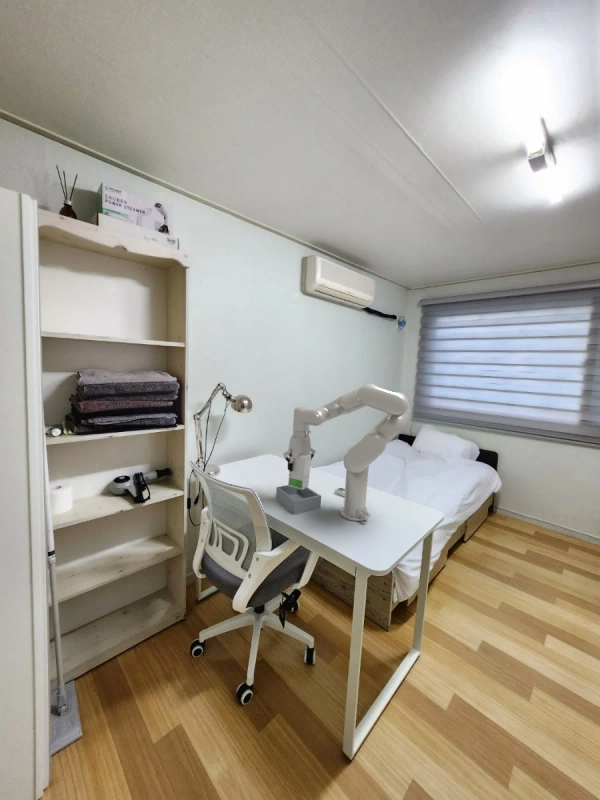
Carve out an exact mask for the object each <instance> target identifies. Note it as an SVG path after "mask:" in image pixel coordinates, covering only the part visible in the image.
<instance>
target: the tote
mask: <svg viewBox="0 0 600 800" xmlns="http://www.w3.org/2000/svg"><path fill="white" fill-rule="evenodd" d="M275 489H276V490H275V492H276V493H275V500H277V501H278V503H280V504H281V503H282V504H281V505H283V507H285V508H286V509H287V508H288V509H287V510H288V511H289V512H290V513H292V512H293V513H294V514H293V513H292V514H293V515H299V514H303V513H306V512H309V511H315V510H318V509H321V507H322V495H321V494H319V493H317V492H316V491H315V490H314V489H312V488H309V486H308V487H306V488H305V489H303V490H301V489H298V488H294V487H290V486H288V484H286V485H281V486H276V488H275ZM298 513H299V514H298Z"/></svg>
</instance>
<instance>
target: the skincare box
mask: <svg viewBox="0 0 600 800" xmlns="http://www.w3.org/2000/svg"><path fill="white" fill-rule="evenodd" d="M290 455H291V456H292V454H290ZM311 461H312V460H311V455H301V456H298V458H297V459H294V460H293V462H292V463H293V471H292V472H291V471H289V470H288V481H287V483H288V484H287V485H288V486H290V487H294V488H298V489H301V490H303V489H305V488H306V487H308V488H309V487H310V486H309V485H310V473H311V472H310V471H311V463H310V462H311Z"/></svg>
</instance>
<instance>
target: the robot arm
mask: <svg viewBox="0 0 600 800" xmlns="http://www.w3.org/2000/svg"><path fill="white" fill-rule="evenodd" d="M365 407H370V408H372V409H375V410H378V411H381V412H384V413H387V414H386V415H385V416H384V417H383V418H382V419H381V421H379V422H378V423H377V424H376V425H375V426H374V427H373V428H371V430H369V431H368V432H367V433H366V434H365V436H363V437H362V438H361V440H360V441H358V442H357V443H356V444H355V445H353V446H351V447H350V448H349V449H348V450H347V452H346V453H345V455H344V456H343V457H344V458H343V467H344V468H345V470H346V472H345V481H344V483H345V487H344V499H343V500H344V501H343V502H344V503H343V507H341V508H340V509H339V510H340V511H339V514H340V516H342V518H344V519H346V520H349V521H353V522H363V521H368V520H369V519H370V517H371V513H369V511H368V507H367V505H366V504H367V494H368V492H367V491H368V479H369V468H370V465H371V464H372V463H373V462H375V461H376V460H377V459H378V458H379V457H380V456H381V455H382V454H383V453H384V452H385V450H386V447H387V445H388V444H389V442H390V441H392V440H393V439H394V438H395V437H396V436H398V434H399V433H400V432H401V431H402V430H403V429H404V427H405V426H406V425H407V423H408V421H409V418H410V413H411V407H410V402H409V400H408V396H407V395H405V394H404V393H403V392H399V391H395V392H394V391H390V390H387V389H384V388H380V387H379V386H377V385H376V384H375V383H374V384H373V383H367V384H364V385H362V386H360V387H358V388H356V389H353V390H352V391H349V392H347V393H345V394H342V395H340V396H339V397H338V398H336V399H335V400H333V401H330V402H328V403H326V404H324V405H321V406H319V407H316V408H313V409H310V408H309V407H304V406H298V407H297V406H296V407H294V410H293V422H292V425H293V426H292V435H291V436H290V438H289V443H288V450H287V451H285V452H284V453H283V454H282V456H283V457H284V460H285V461H286V462H287V470H288V472H289V471H291V472H292V471H293V463H292V462H293V460H294V459H297V458H298V456H301V455H311V461H312V460H313V458H314V456H315V454H316V453H317V452H316V450H315V449H314V448H312V446H311V444H312V443H311V442H312V441H311V437H310V434H312V433H311V430H310V426H314V427H319V426H321V425H323V424H324V423H326V422H327V421H330V420H332V419H335V418H338V417H340V416H342V415H349V414H352V413H353V412H356V411H358V410H360V409H363V408H365ZM290 454H292V456H291V455H290ZM310 464H311V462H310Z"/></svg>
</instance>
